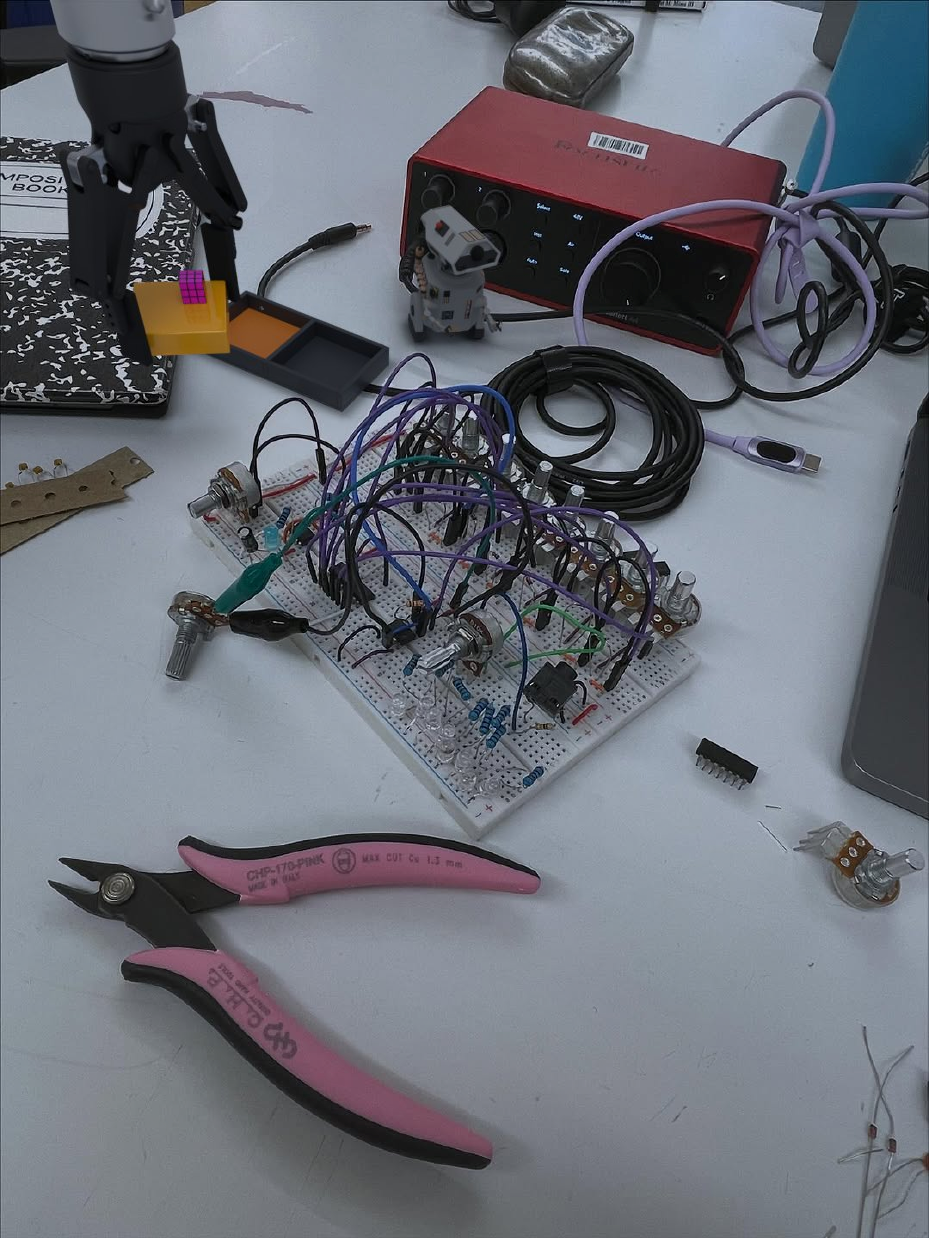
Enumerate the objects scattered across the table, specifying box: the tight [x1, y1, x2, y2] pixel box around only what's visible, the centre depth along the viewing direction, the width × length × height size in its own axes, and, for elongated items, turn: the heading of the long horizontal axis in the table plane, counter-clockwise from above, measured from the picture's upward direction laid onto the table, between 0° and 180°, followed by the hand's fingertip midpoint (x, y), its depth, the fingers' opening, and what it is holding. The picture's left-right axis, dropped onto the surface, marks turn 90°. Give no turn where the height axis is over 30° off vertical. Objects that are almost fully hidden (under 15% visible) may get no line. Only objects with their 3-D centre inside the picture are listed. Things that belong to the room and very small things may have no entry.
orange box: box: [132, 269, 230, 357], centre depth 70 cm, size 8×8×4 cm
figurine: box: [407, 204, 503, 342], centre depth 92 cm, size 9×12×15 cm
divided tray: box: [206, 289, 390, 412], centre depth 92 cm, size 20×10×2 cm, turn 63°
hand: (184, 326), depth 71 cm, fingers closed on orange box, 11 cm apart
